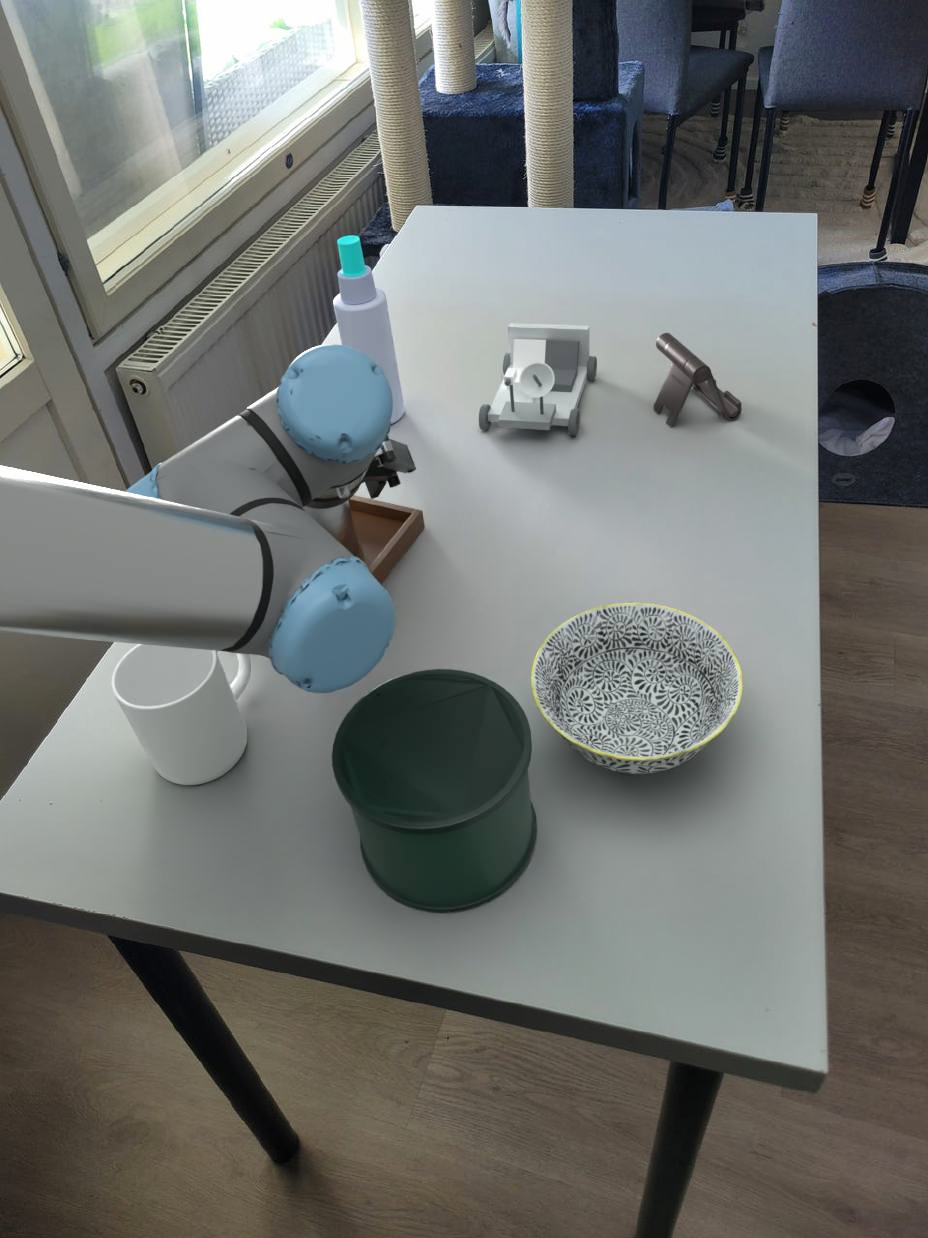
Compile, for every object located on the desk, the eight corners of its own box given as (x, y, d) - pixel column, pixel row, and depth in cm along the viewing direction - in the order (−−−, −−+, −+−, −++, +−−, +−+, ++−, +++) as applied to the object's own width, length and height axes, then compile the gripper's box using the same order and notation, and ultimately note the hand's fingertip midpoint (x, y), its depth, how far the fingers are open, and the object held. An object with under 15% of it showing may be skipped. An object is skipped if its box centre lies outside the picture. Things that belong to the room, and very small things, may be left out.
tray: (221, 587, 95) (215, 570, 93) (303, 499, 104) (299, 482, 103) (350, 623, 89) (346, 606, 87) (425, 527, 98) (422, 510, 97)
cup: (133, 765, 79) (88, 686, 72) (227, 672, 86) (194, 591, 79) (204, 803, 75) (163, 723, 68) (296, 702, 82) (268, 621, 75)
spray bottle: (407, 401, 117) (379, 226, 102) (402, 427, 113) (371, 249, 98) (361, 403, 118) (326, 230, 103) (353, 429, 114) (316, 253, 99)
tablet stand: (741, 419, 107) (749, 353, 101) (680, 437, 106) (685, 371, 100) (702, 385, 113) (708, 320, 107) (644, 401, 112) (647, 337, 106)
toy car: (569, 376, 99) (465, 371, 102) (571, 453, 106) (474, 446, 109) (597, 299, 111) (503, 297, 114) (597, 373, 118) (508, 369, 121)
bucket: (326, 875, 69) (292, 788, 62) (412, 739, 78) (392, 649, 70) (492, 943, 64) (478, 858, 57) (565, 790, 73) (561, 698, 65)
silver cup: (276, 564, 95) (254, 493, 89) (314, 523, 100) (295, 452, 93) (335, 580, 92) (316, 508, 86) (371, 537, 97) (355, 465, 91)
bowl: (724, 834, 68) (735, 774, 63) (515, 798, 73) (509, 738, 67) (739, 677, 79) (749, 614, 74) (556, 653, 83) (554, 591, 78)
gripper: (187, 549, 71) (202, 582, 92) (480, 450, 77) (432, 502, 97) (152, 458, 71) (175, 511, 92) (448, 366, 77) (407, 435, 97)
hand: (308, 506), depth 95 cm, fingers open, 13 cm apart
